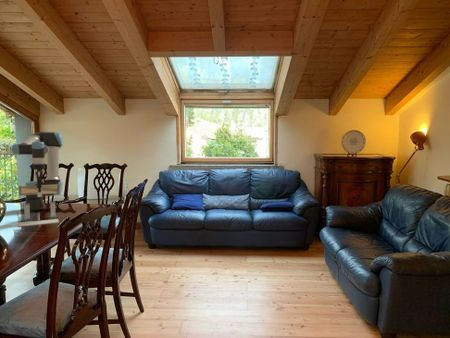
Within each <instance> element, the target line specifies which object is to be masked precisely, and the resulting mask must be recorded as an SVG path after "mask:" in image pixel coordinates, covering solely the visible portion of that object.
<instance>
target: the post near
mask: <svg viewBox="0 0 450 338" xmlns="http://www.w3.org/2000/svg"><path fill="white" fill-rule="evenodd" d="M24 204H25V203H24ZM24 204H23V211H24V213H23V214H24V217H23V218H22V222H30V221H33V220H32V219H33V218H32V217H31V211H30V203H27V204H25V205H24Z"/></svg>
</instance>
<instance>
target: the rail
mask: <svg viewBox="0 0 450 338" xmlns="http://www.w3.org/2000/svg"><path fill="white" fill-rule="evenodd" d="M41 186H42V187H41V188H42V194H53V193H59V184H56V185H41ZM36 187H37V185H35V186H25V185H19V186H18V190H19V191H18V192H19V195H18V196H20V197H21V196H26V195H36V194H38V193H37V188H36Z"/></svg>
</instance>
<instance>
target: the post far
mask: <svg viewBox="0 0 450 338" xmlns="http://www.w3.org/2000/svg"><path fill="white" fill-rule="evenodd" d="M52 219H58V215H57V214H56V201H50V215H49V216H48V220H52Z"/></svg>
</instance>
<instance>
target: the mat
mask: <svg viewBox="0 0 450 338" xmlns="http://www.w3.org/2000/svg"><path fill="white" fill-rule="evenodd" d="M51 224H59V218H53V219H44V220H43V219H42V220H35V221H34V220H31V221H21V222H17V224H16V228H21V227H22V228H23V227H32V226H38V225H39V226H41V225H51Z"/></svg>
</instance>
